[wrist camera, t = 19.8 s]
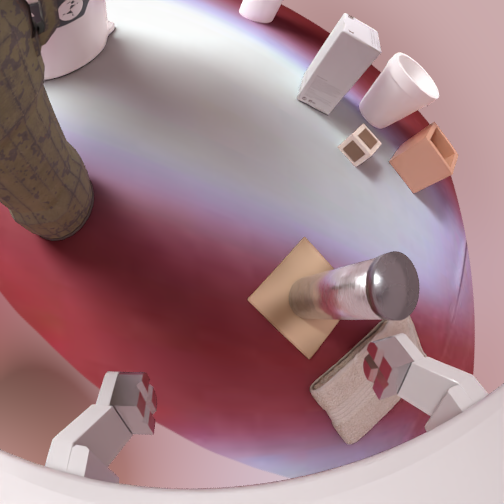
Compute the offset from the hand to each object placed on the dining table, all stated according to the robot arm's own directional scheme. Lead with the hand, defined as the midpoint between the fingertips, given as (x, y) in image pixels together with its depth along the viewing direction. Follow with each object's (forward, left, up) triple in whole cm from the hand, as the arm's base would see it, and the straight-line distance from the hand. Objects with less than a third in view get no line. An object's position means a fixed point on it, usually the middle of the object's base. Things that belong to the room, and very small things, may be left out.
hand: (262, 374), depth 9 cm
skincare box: (-13, +37, -20) cm, 44 cm away
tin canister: (+6, +11, -19) cm, 23 cm away
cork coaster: (+6, +11, -19) cm, 23 cm away
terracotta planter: (+7, +42, -19) cm, 47 cm away
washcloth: (+21, +11, -20) cm, 31 cm away
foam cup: (-4, +45, -20) cm, 49 cm away
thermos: (-21, -2, -20) cm, 29 cm away
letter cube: (-2, +33, -20) cm, 38 cm away
